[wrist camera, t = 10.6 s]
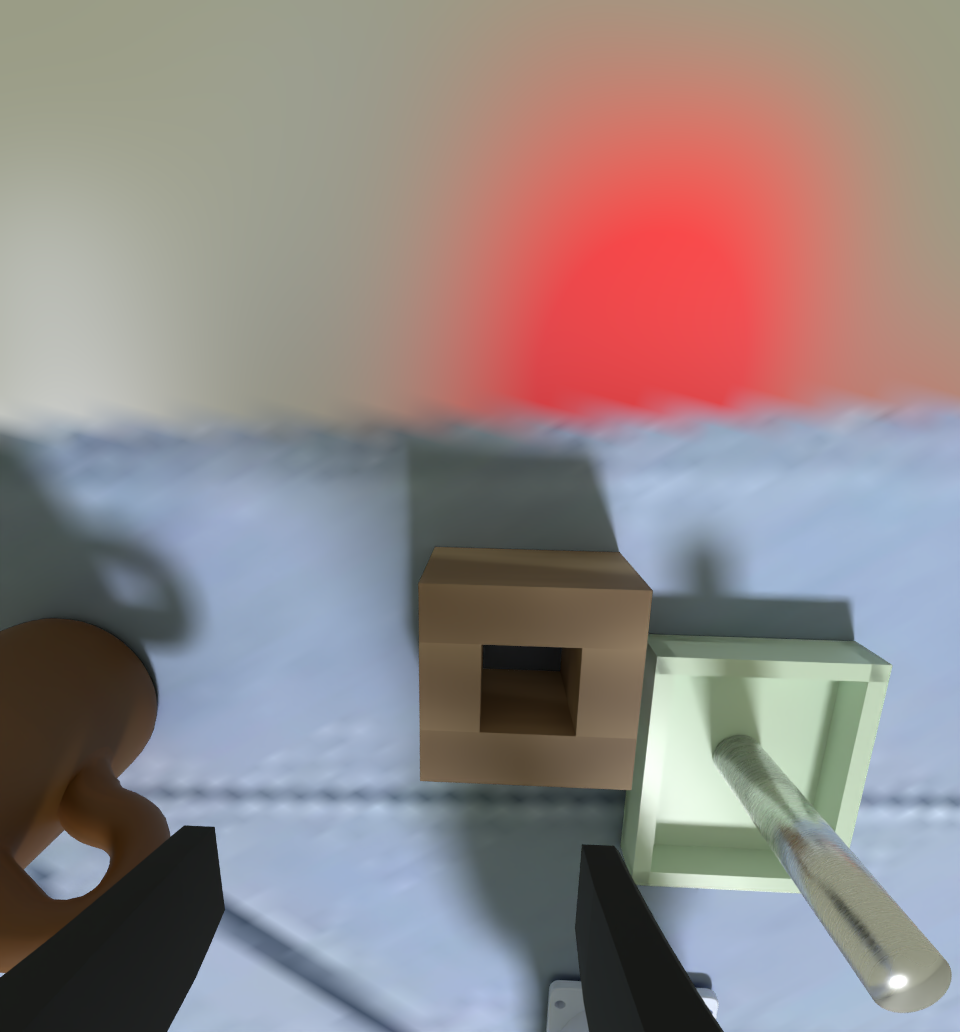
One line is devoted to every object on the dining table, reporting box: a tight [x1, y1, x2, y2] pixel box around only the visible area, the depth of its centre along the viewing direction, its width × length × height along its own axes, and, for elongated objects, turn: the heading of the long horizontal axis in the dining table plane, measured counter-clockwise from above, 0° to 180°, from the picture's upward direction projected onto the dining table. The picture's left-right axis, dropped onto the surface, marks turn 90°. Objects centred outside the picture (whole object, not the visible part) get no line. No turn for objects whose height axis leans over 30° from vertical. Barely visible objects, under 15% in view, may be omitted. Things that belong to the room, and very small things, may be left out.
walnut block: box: [418, 547, 653, 790], centre depth 17 cm, size 7×7×4 cm
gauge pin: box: [713, 735, 952, 1013], centre depth 16 cm, size 2×2×8 cm
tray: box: [620, 634, 892, 893], centre depth 19 cm, size 10×8×2 cm
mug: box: [0, 618, 170, 973], centre depth 16 cm, size 12×8×9 cm, turn 75°
